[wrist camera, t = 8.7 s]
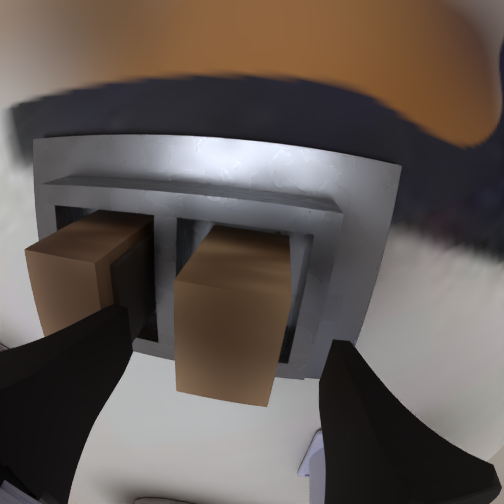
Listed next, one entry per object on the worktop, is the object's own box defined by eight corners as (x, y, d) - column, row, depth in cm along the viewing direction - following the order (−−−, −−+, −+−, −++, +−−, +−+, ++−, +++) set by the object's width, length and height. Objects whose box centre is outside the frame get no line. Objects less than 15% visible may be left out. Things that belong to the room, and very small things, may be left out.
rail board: (394, 163, 14) (423, 172, 11) (340, 370, 19) (347, 409, 15) (43, 137, 15) (4, 143, 12) (62, 319, 20) (37, 345, 17)
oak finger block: (289, 235, 15) (291, 299, 9) (273, 323, 17) (266, 407, 11) (208, 224, 15) (164, 278, 9) (202, 311, 17) (169, 389, 11)
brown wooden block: (163, 216, 15) (102, 264, 9) (164, 303, 17) (119, 374, 11) (98, 209, 15) (24, 249, 10) (105, 291, 17) (49, 350, 12)
